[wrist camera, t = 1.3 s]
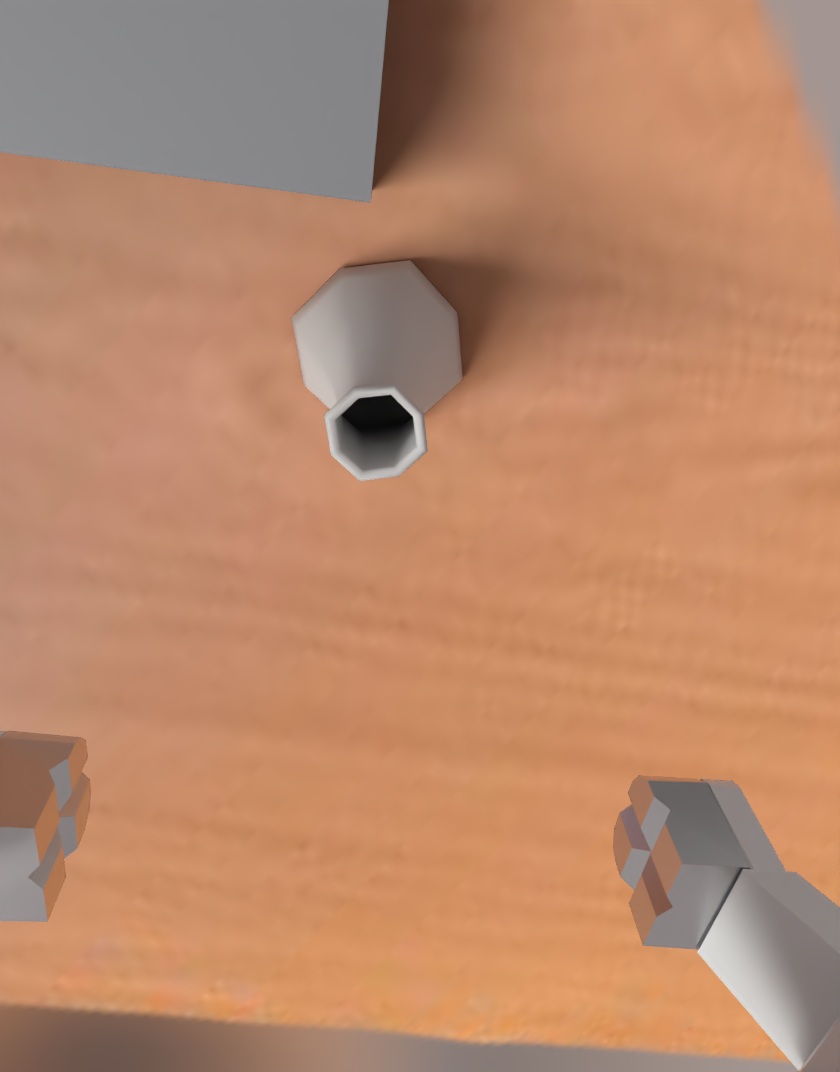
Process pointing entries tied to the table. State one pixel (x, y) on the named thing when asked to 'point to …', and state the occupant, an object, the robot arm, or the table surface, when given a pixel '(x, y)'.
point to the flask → (378, 362)
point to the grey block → (199, 88)
